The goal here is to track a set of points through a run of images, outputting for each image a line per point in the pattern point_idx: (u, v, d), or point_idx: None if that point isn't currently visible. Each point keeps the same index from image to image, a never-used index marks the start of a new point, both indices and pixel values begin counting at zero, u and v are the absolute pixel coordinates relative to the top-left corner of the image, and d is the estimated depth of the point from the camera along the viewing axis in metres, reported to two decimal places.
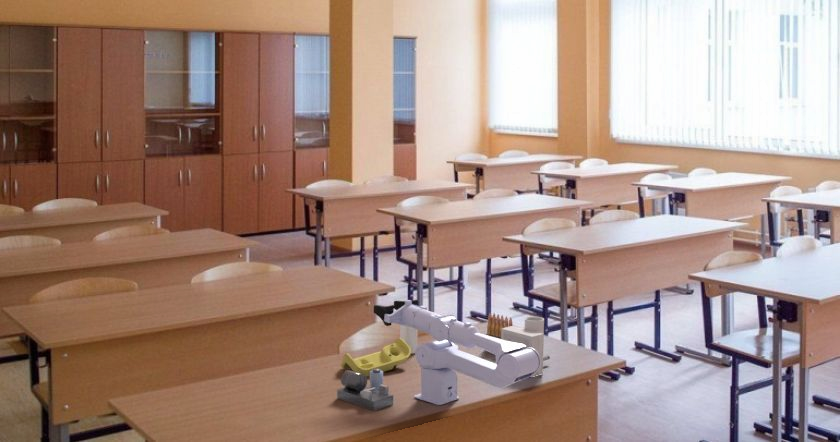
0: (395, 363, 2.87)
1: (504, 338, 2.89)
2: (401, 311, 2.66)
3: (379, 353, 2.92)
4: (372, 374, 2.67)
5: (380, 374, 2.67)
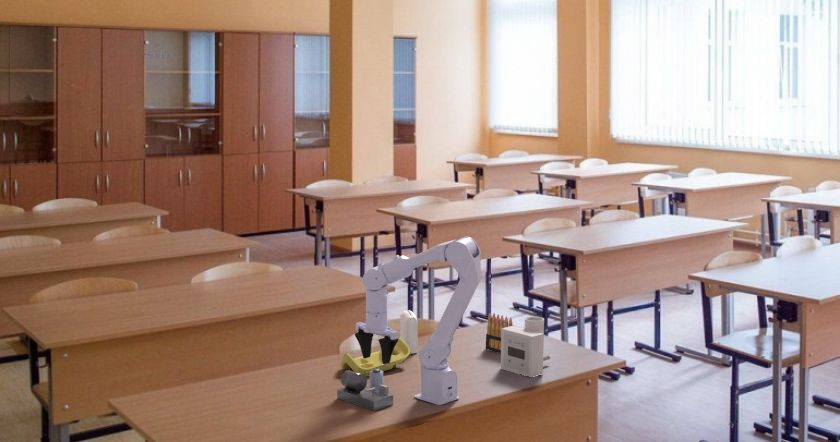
0: (395, 362, 2.88)
1: (504, 338, 2.89)
2: (379, 330, 2.64)
3: (378, 353, 2.93)
4: (372, 374, 2.67)
5: (380, 374, 2.67)
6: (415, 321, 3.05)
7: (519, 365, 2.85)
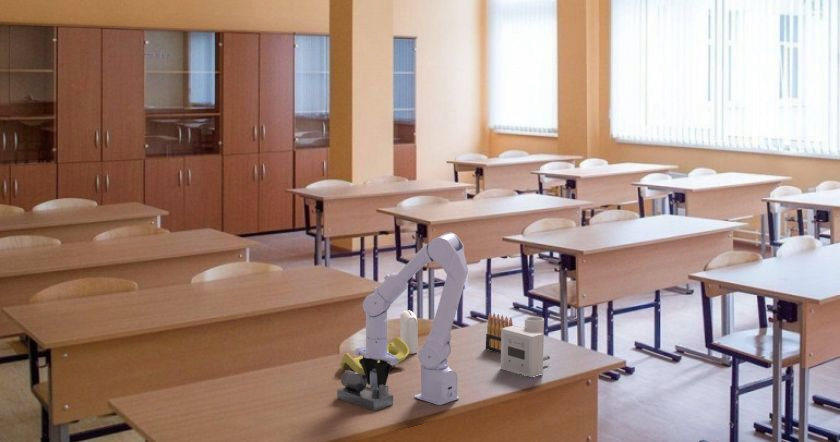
0: None
1: (504, 338, 2.89)
2: (379, 356, 2.65)
3: None
4: (372, 374, 2.67)
5: None
6: (415, 321, 3.05)
7: (519, 365, 2.85)
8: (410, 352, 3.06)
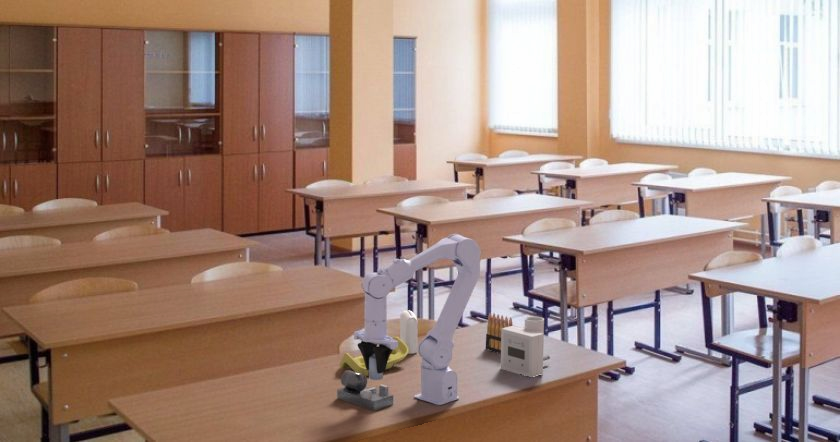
0: (394, 362, 2.89)
1: (504, 338, 2.89)
2: (378, 339, 2.52)
3: None
4: (372, 360, 2.55)
5: None
6: (415, 321, 3.05)
7: (519, 365, 2.85)
8: (410, 352, 3.06)
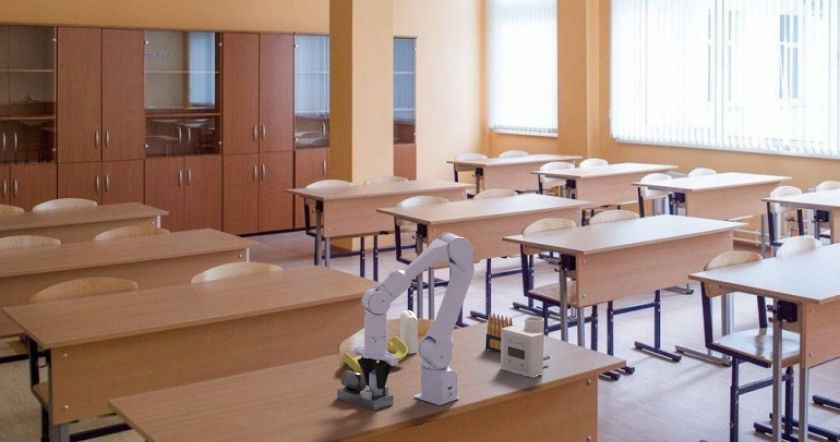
0: None
1: (504, 338, 2.89)
2: (378, 355, 2.53)
3: None
4: (372, 376, 2.55)
5: None
6: (415, 321, 3.05)
7: (519, 365, 2.85)
8: (410, 352, 3.06)
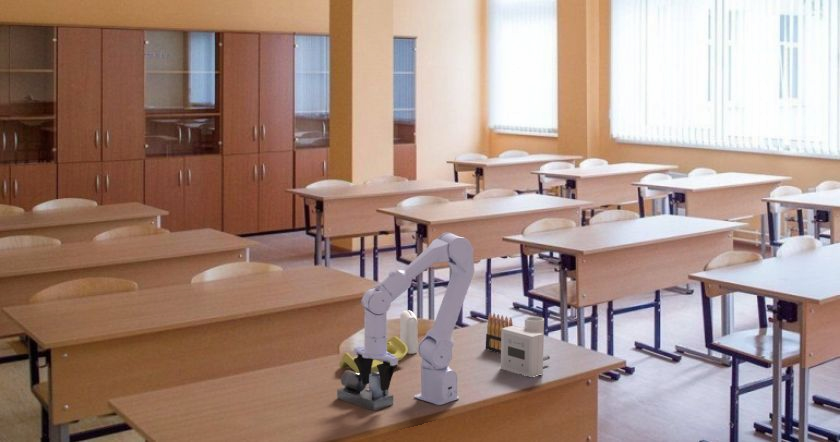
0: None
1: (504, 338, 2.89)
2: (378, 355, 2.53)
3: None
4: (372, 377, 2.55)
5: None
6: (415, 321, 3.05)
7: (519, 365, 2.85)
8: (410, 352, 3.06)
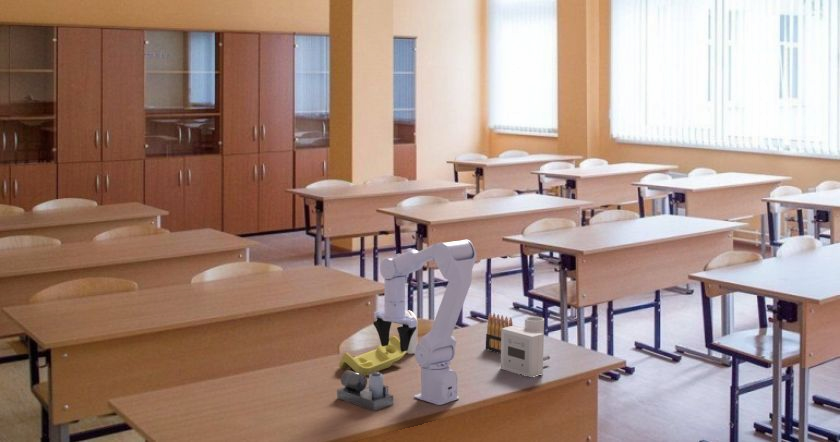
0: (393, 360, 2.90)
1: (504, 338, 2.89)
2: (397, 318, 2.71)
3: (375, 351, 2.94)
4: (372, 377, 2.55)
5: (380, 377, 2.56)
6: None
7: (519, 365, 2.85)
8: (410, 352, 3.06)
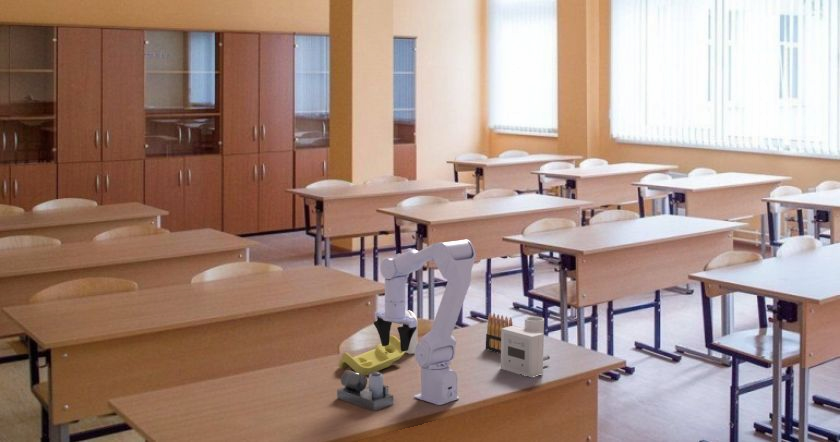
0: (393, 360, 2.90)
1: (504, 338, 2.89)
2: (398, 318, 2.71)
3: (374, 351, 2.94)
4: (372, 377, 2.55)
5: (380, 377, 2.56)
6: None
7: (519, 365, 2.85)
8: (410, 352, 3.06)
